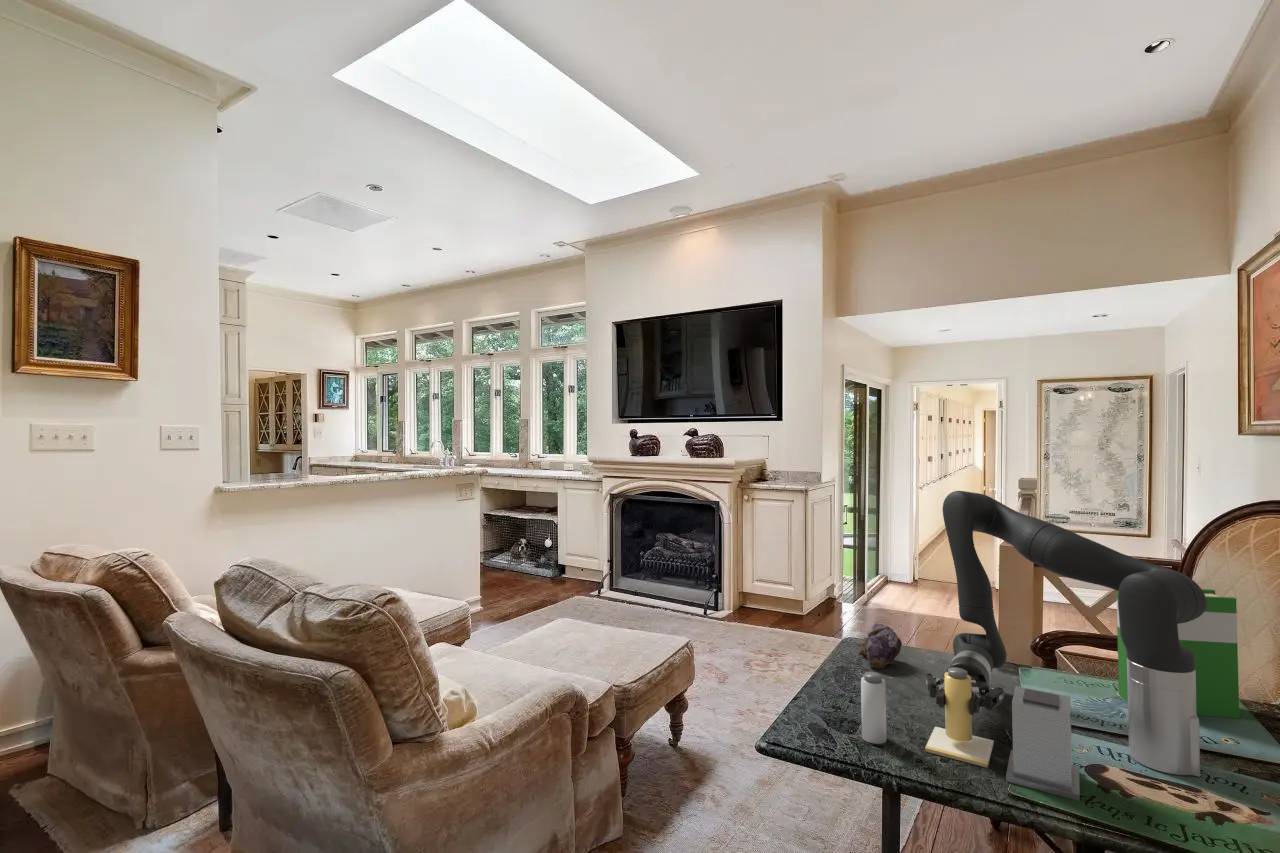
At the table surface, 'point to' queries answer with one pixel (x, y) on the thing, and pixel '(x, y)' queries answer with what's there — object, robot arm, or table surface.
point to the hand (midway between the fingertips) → (956, 705)
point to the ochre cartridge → (958, 705)
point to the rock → (880, 646)
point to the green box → (1205, 656)
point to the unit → (1042, 743)
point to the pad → (960, 748)
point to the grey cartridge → (873, 708)
